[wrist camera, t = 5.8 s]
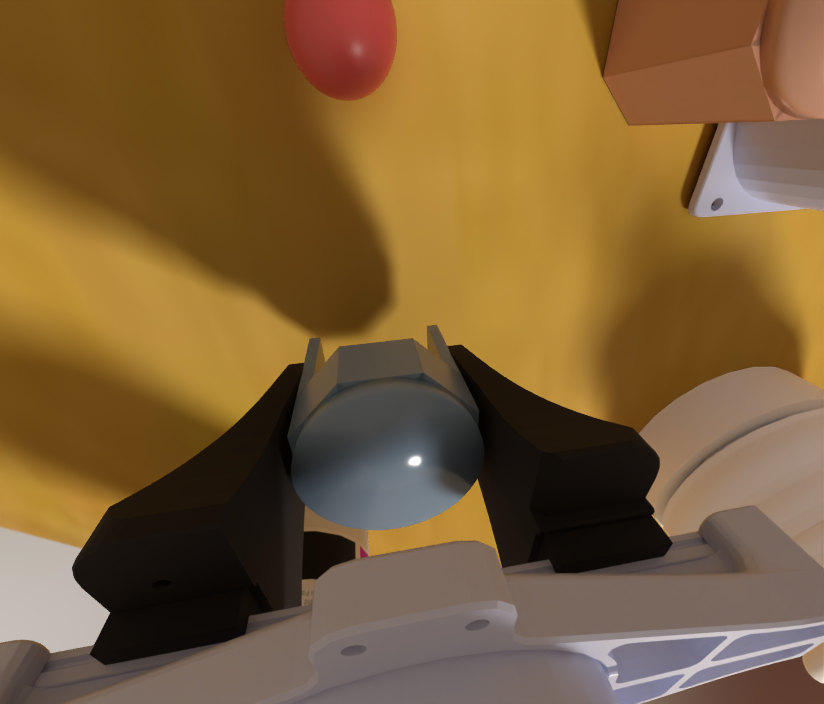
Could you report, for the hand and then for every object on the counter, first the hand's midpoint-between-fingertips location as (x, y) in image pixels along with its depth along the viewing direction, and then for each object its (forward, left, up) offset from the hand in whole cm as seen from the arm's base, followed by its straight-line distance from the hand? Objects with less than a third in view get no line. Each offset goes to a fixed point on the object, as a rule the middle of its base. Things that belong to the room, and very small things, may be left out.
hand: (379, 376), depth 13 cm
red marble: (0, -10, -2) cm, 10 cm away
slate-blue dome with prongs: (0, 0, -2) cm, 2 cm away
